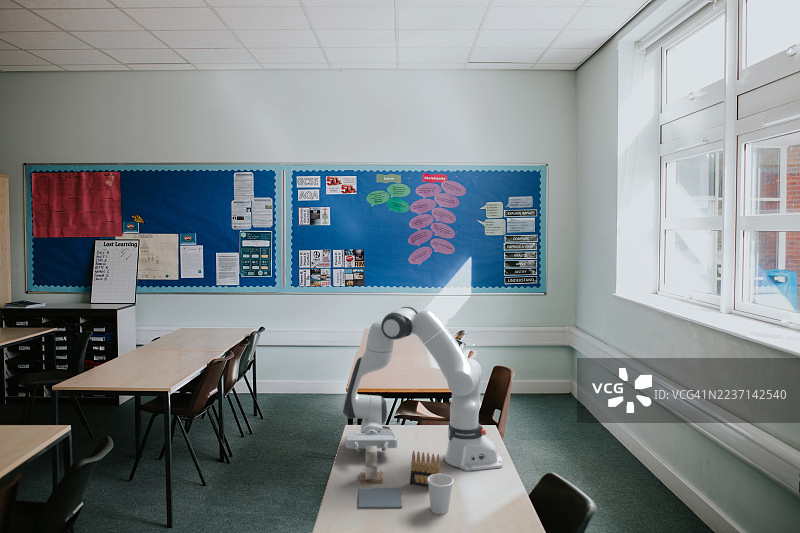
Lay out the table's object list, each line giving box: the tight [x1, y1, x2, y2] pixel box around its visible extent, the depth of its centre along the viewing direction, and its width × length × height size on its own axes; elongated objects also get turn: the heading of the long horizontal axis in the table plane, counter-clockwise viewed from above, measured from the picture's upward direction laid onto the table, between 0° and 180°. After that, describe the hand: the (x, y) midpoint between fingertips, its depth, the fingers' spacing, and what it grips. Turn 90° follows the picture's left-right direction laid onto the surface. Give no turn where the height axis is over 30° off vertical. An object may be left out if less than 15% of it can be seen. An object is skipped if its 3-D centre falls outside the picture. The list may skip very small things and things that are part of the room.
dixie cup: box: [427, 473, 454, 515], centre depth 166 cm, size 8×8×10 cm
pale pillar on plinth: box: [359, 446, 383, 484], centre depth 185 cm, size 8×6×11 cm
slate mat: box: [358, 487, 403, 510], centre depth 172 cm, size 14×12×1 cm
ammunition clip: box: [409, 450, 441, 488], centre depth 181 cm, size 11×2×12 cm, turn 75°
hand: (371, 449), depth 196 cm, fingers open, 8 cm apart
